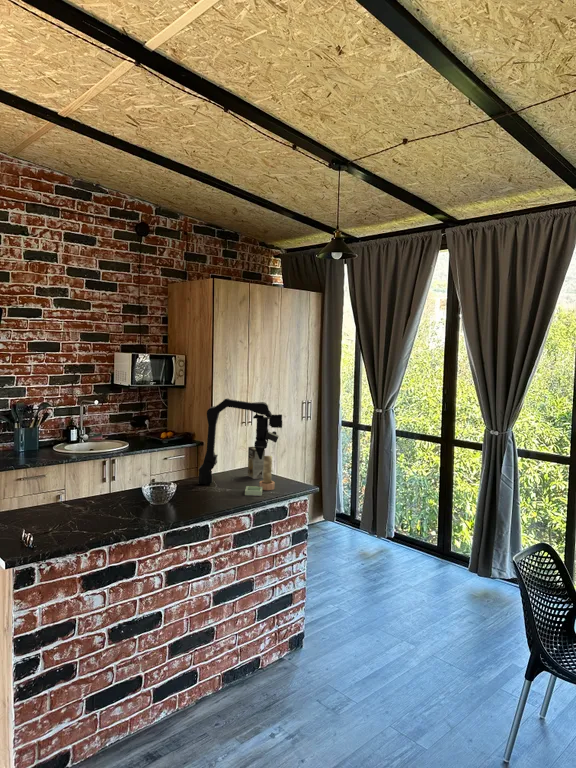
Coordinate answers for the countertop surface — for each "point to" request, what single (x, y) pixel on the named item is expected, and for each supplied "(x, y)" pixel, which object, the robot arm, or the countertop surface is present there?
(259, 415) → the robot arm
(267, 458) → the dowel
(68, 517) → the countertop surface
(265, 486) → the holder
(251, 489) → the tray
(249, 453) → the coffee box
